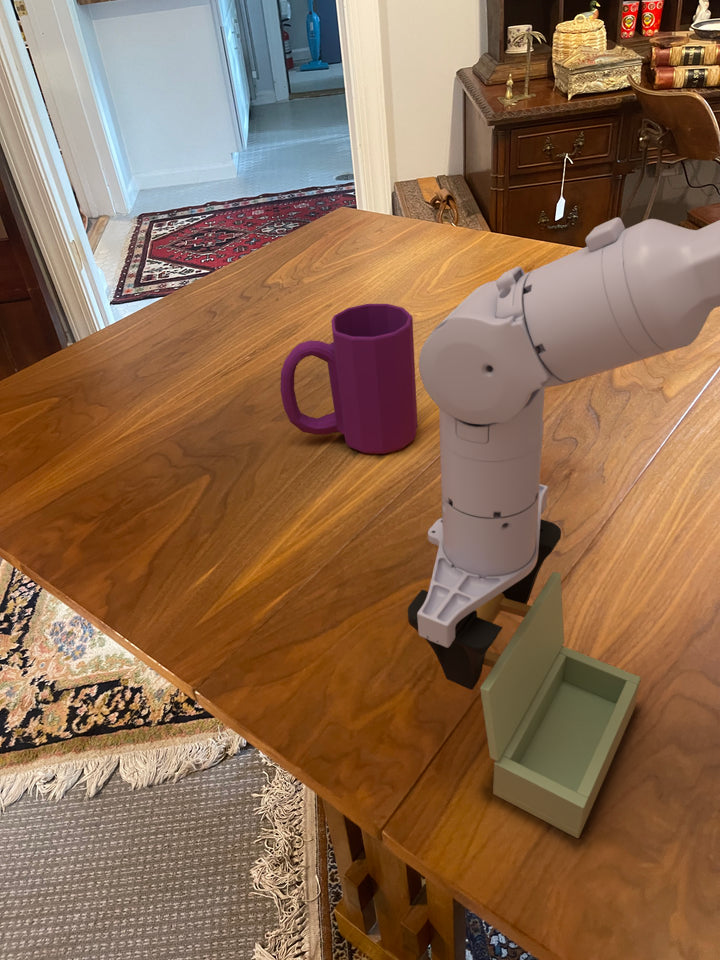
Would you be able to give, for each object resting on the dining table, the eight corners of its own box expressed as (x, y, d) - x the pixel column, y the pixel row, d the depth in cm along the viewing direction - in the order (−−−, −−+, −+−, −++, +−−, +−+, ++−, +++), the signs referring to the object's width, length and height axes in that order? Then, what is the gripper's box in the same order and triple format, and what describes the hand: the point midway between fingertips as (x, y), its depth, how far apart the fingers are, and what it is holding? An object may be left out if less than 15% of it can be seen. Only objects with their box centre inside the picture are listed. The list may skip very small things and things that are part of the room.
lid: (561, 573, 52) (501, 558, 54) (488, 690, 45) (423, 666, 47) (564, 642, 56) (508, 625, 58) (498, 761, 48) (437, 735, 51)
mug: (423, 452, 85) (418, 333, 76) (289, 467, 85) (269, 350, 76) (412, 411, 92) (406, 298, 83) (289, 425, 92) (270, 313, 83)
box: (634, 709, 55) (641, 676, 53) (578, 839, 48) (583, 808, 46) (556, 676, 58) (560, 644, 56) (492, 794, 51) (493, 762, 49)
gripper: (483, 414, 50) (481, 560, 58) (366, 538, 41) (383, 692, 49) (584, 439, 47) (567, 591, 55) (481, 582, 37) (479, 739, 45)
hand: (486, 641), depth 51 cm, fingers open, 7 cm apart
